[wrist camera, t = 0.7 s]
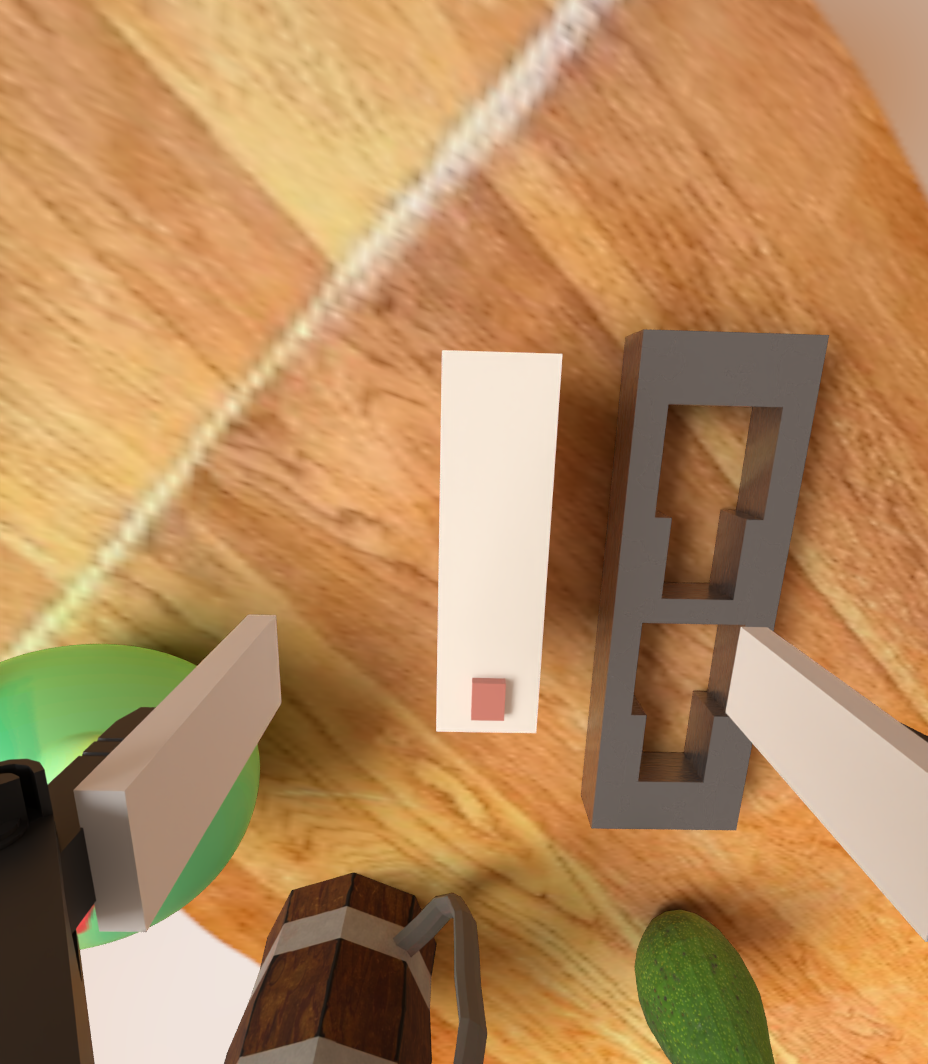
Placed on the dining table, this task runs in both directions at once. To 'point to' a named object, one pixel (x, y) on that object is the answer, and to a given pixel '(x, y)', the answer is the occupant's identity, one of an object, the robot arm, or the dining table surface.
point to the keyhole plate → (728, 600)
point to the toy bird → (85, 714)
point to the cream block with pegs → (494, 536)
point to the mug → (358, 979)
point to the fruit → (699, 994)
